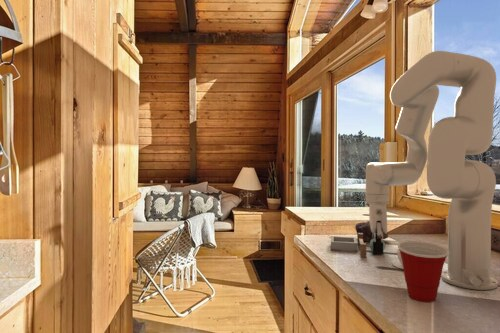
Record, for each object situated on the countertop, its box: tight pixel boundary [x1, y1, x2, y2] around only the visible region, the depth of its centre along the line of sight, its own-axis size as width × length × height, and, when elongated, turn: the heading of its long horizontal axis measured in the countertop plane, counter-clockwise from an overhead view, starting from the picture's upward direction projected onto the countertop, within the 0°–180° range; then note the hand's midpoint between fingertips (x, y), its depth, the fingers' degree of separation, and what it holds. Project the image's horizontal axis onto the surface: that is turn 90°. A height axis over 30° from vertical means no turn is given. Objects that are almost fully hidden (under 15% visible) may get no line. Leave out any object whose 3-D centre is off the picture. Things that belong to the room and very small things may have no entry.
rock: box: [354, 220, 389, 243], centre depth 137 cm, size 12×9×10 cm
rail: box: [357, 233, 367, 259], centre depth 124 cm, size 18×2×4 cm, turn 166°
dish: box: [330, 235, 359, 253], centre depth 128 cm, size 9×9×3 cm
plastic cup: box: [397, 240, 449, 303], centre depth 82 cm, size 11×11×12 cm
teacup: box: [391, 248, 404, 270], centre depth 106 cm, size 10×10×5 cm
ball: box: [369, 239, 386, 252], centre depth 122 cm, size 5×5×5 cm
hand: (377, 251), depth 122 cm, fingers closed on ball, 4 cm apart
